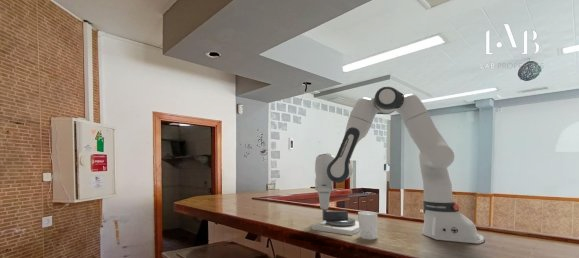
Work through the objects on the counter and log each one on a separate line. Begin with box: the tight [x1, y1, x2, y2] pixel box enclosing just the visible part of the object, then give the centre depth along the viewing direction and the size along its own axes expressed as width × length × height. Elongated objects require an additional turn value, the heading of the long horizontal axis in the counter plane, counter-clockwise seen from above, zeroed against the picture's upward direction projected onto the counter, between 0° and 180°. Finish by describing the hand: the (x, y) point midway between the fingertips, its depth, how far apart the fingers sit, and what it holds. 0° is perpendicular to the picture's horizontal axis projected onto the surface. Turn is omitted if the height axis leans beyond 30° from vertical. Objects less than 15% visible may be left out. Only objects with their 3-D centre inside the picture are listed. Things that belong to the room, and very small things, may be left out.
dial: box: [321, 210, 356, 226], centre depth 135 cm, size 16×14×6 cm
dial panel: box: [311, 220, 360, 236], centre depth 134 cm, size 20×20×2 cm
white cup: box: [357, 210, 378, 240], centre depth 118 cm, size 8×8×10 cm
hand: (324, 215), depth 136 cm, fingers closed
